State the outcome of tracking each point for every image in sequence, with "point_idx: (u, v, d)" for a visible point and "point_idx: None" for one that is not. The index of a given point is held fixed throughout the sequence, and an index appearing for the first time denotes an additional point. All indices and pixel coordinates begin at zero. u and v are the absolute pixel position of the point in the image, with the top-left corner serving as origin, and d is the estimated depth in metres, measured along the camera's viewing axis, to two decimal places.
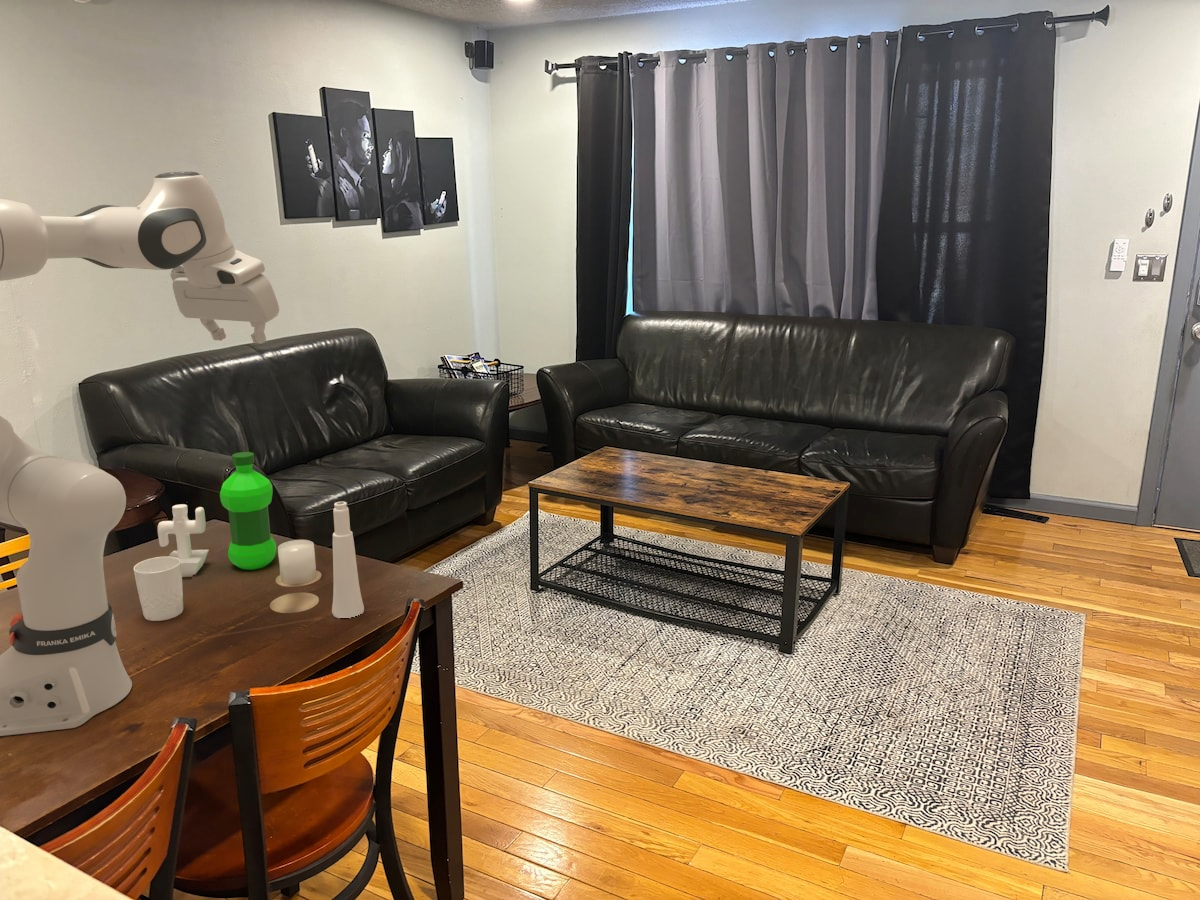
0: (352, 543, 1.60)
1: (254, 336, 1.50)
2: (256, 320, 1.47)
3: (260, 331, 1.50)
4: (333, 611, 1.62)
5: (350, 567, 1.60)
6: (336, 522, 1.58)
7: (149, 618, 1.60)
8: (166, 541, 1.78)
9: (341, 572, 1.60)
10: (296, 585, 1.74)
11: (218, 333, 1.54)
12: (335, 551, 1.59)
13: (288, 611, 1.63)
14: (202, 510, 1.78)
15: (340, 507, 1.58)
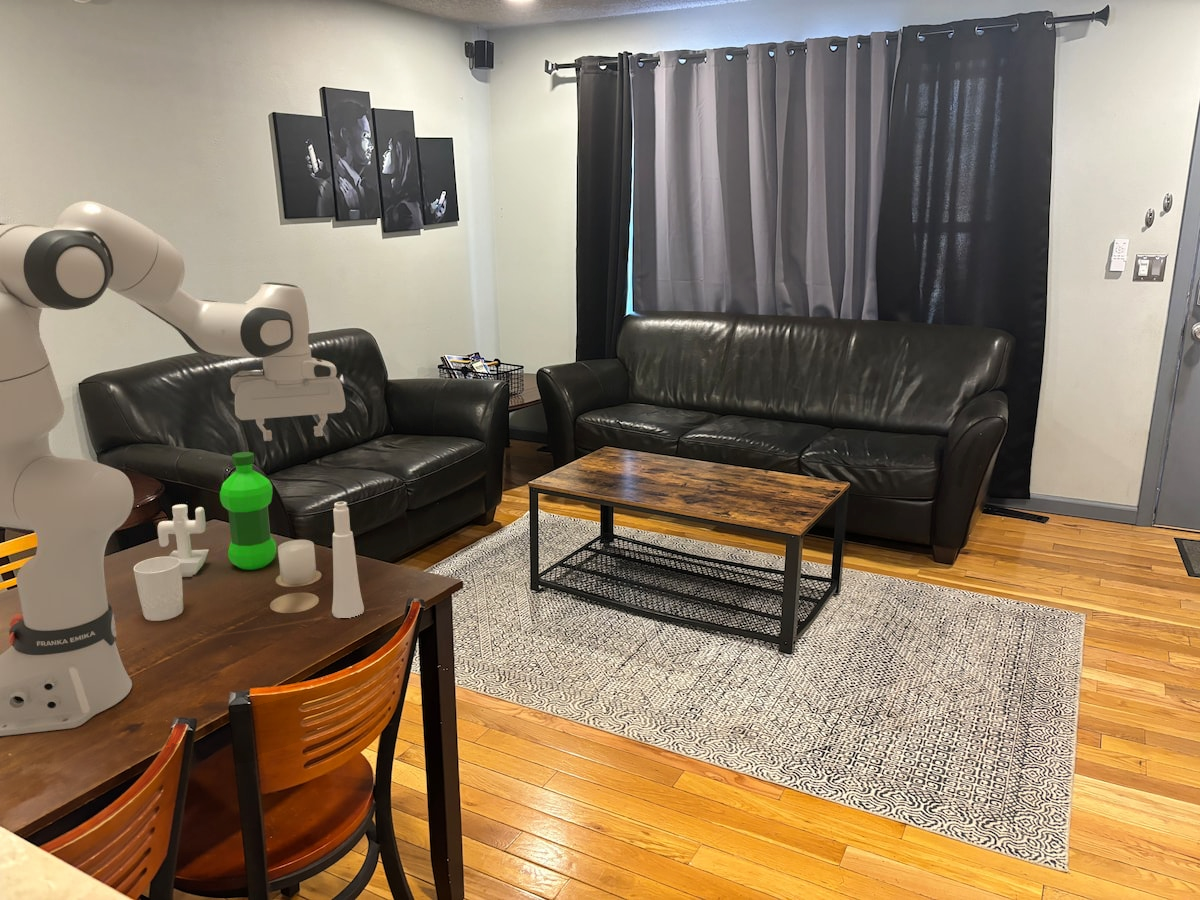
0: (352, 543, 1.60)
1: (319, 429, 1.69)
2: (333, 411, 1.69)
3: None
4: (333, 611, 1.62)
5: (350, 567, 1.60)
6: (336, 522, 1.58)
7: (149, 618, 1.60)
8: (166, 541, 1.78)
9: (341, 572, 1.60)
10: (296, 585, 1.74)
11: (271, 433, 1.66)
12: (335, 551, 1.59)
13: (288, 611, 1.63)
14: (202, 510, 1.78)
15: (340, 507, 1.58)
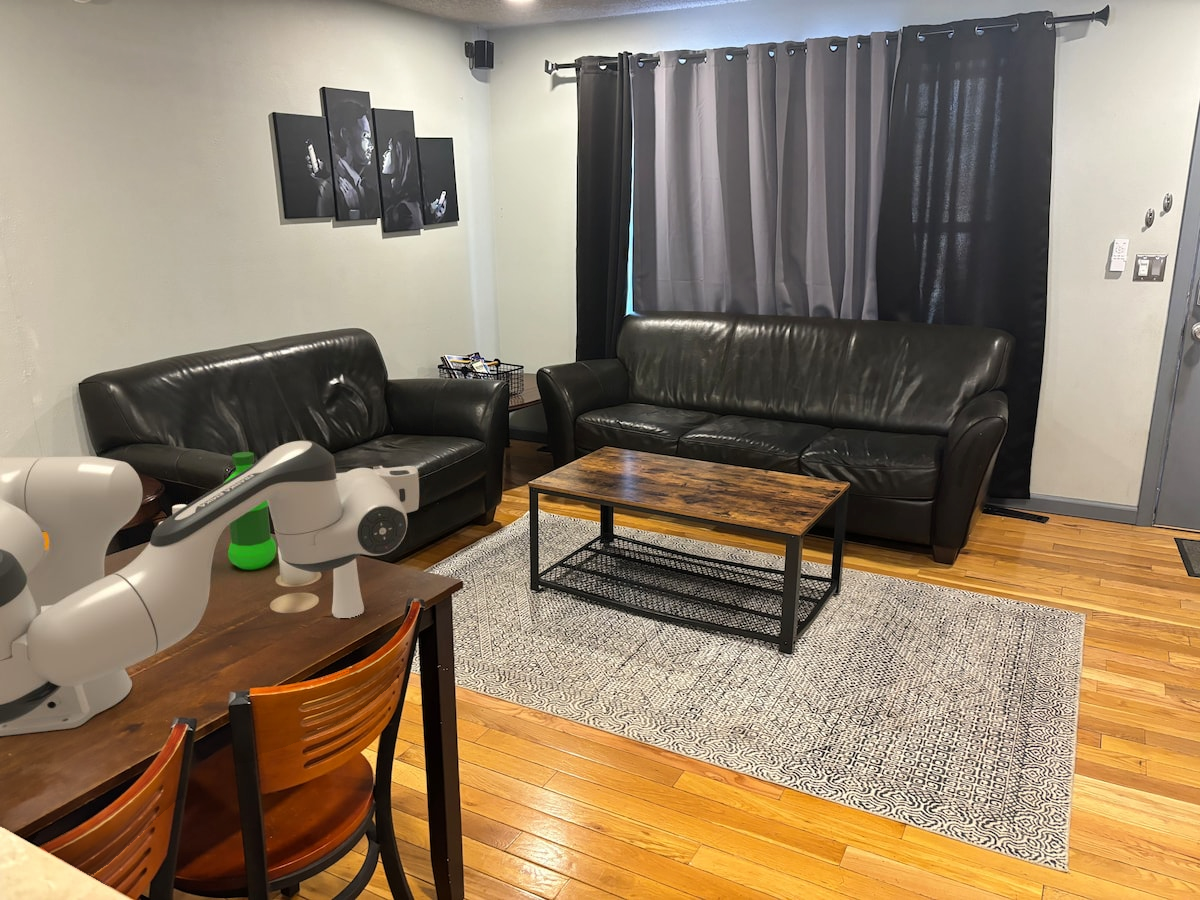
0: None
1: None
2: None
3: None
4: (333, 611, 1.62)
5: (350, 567, 1.60)
6: None
7: None
8: None
9: (341, 572, 1.60)
10: (296, 585, 1.74)
11: None
12: None
13: (288, 611, 1.63)
14: None
15: None
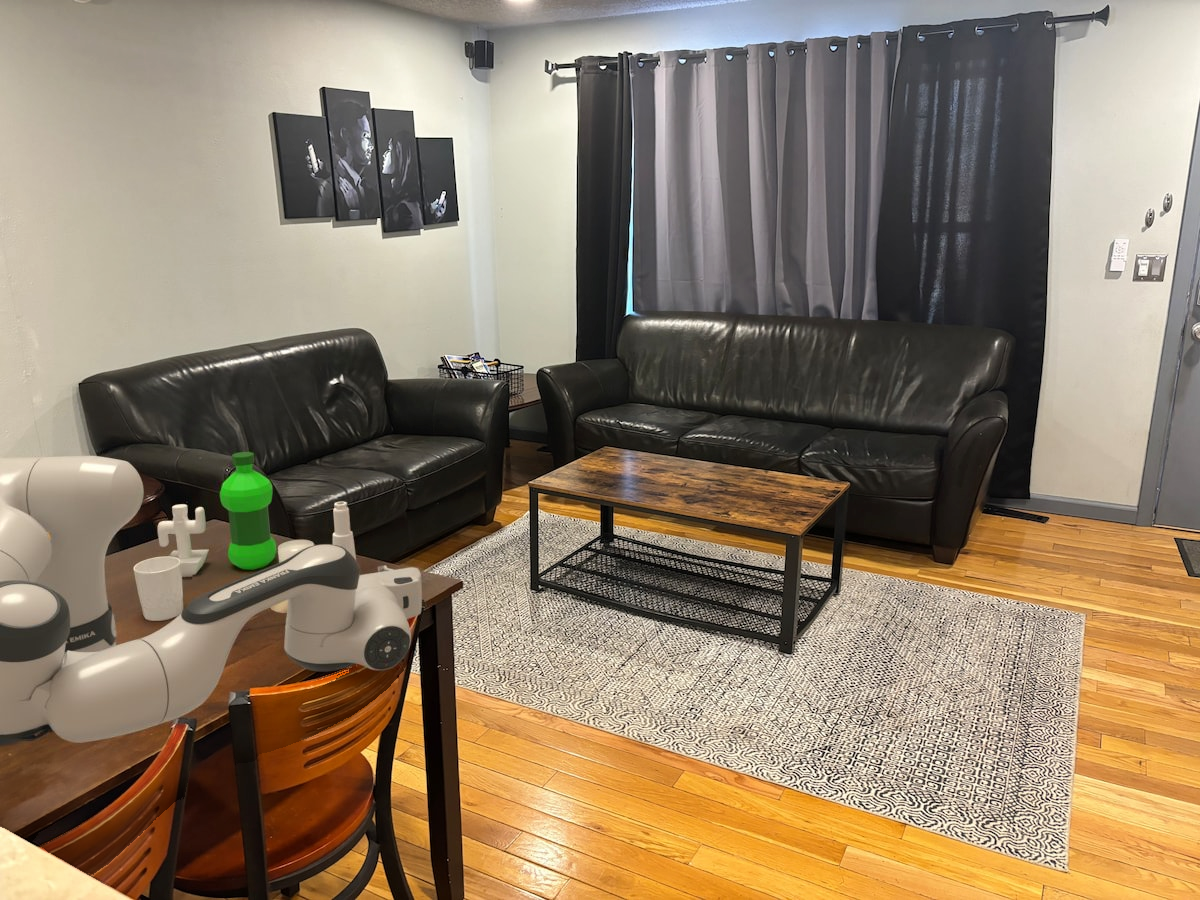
0: (352, 543, 1.60)
1: None
2: None
3: None
4: None
5: None
6: (336, 522, 1.58)
7: (149, 618, 1.60)
8: (166, 541, 1.78)
9: None
10: None
11: None
12: None
13: None
14: (202, 510, 1.78)
15: (340, 507, 1.58)
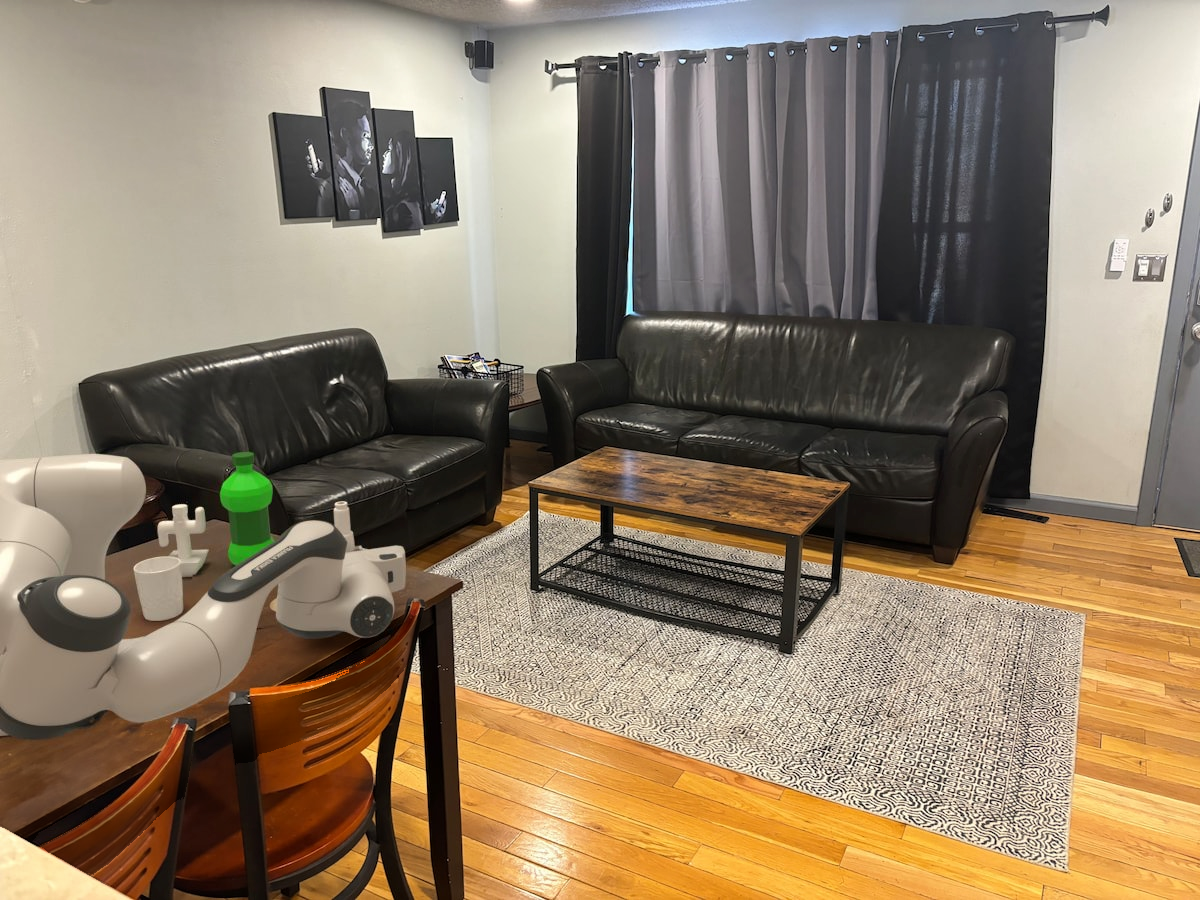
0: (352, 543, 1.60)
1: None
2: None
3: None
4: None
5: None
6: (336, 522, 1.58)
7: (149, 618, 1.60)
8: (166, 541, 1.78)
9: None
10: None
11: None
12: None
13: None
14: (202, 510, 1.78)
15: (340, 507, 1.58)
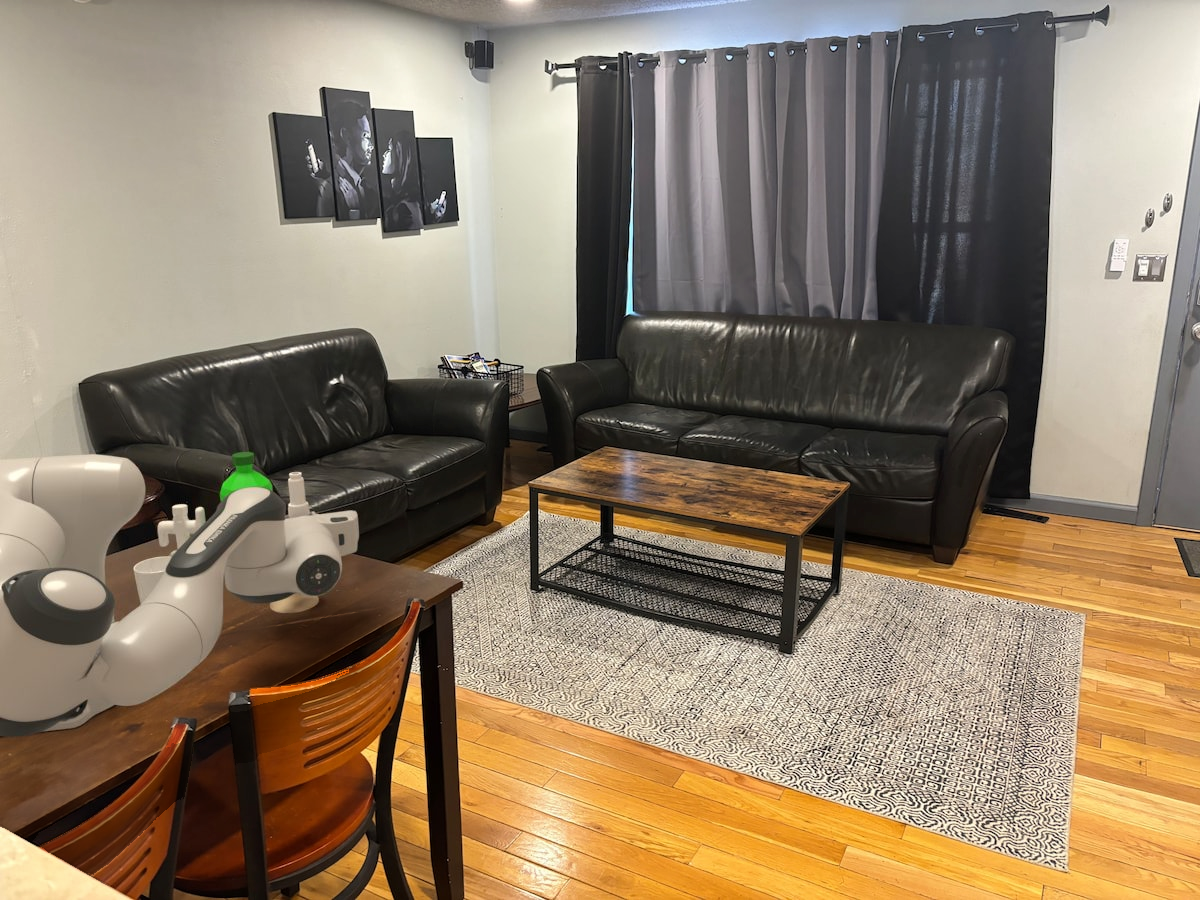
0: (308, 513, 1.61)
1: None
2: None
3: None
4: None
5: None
6: (291, 492, 1.60)
7: None
8: (166, 541, 1.78)
9: None
10: None
11: None
12: None
13: (288, 611, 1.63)
14: (202, 510, 1.78)
15: (294, 477, 1.59)
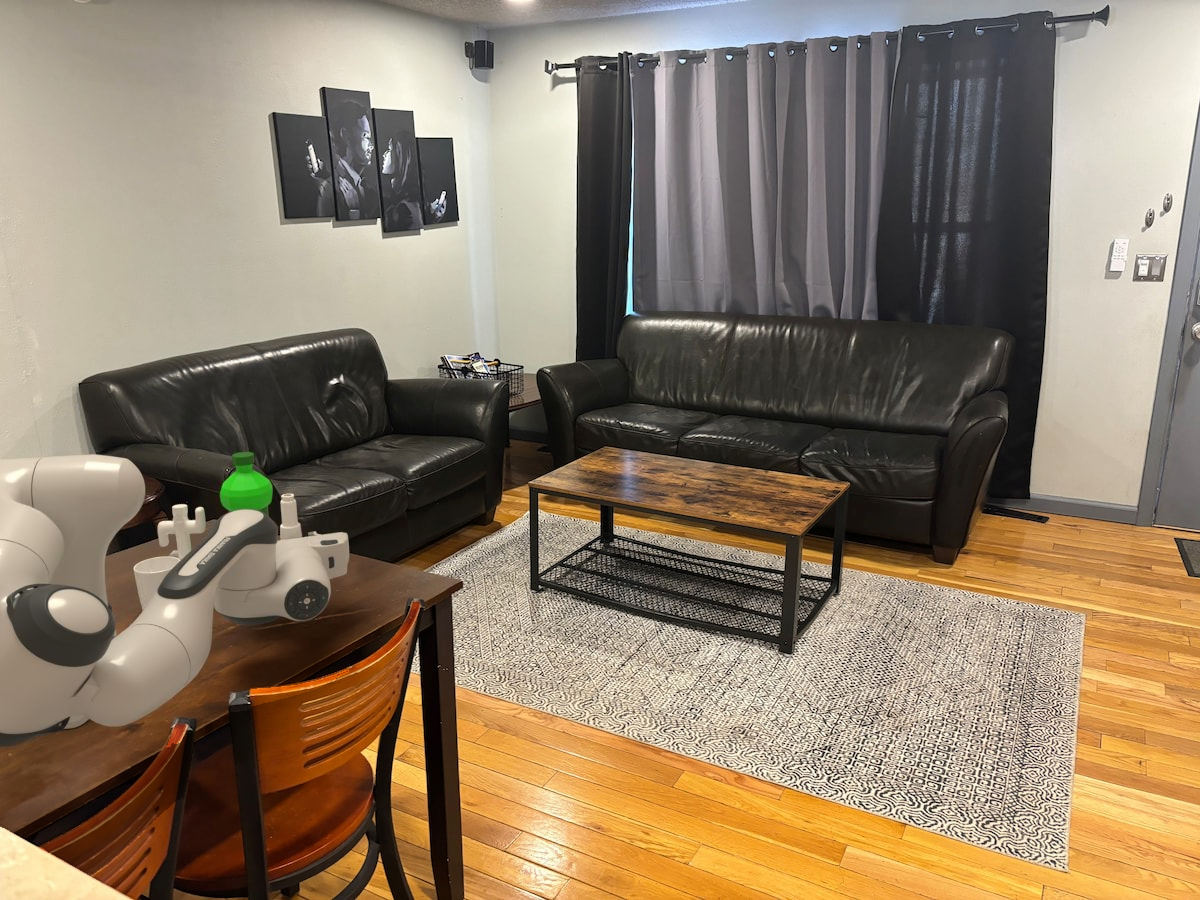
0: (300, 535, 1.62)
1: None
2: None
3: None
4: None
5: None
6: (283, 514, 1.60)
7: None
8: (166, 541, 1.78)
9: None
10: None
11: None
12: None
13: None
14: (202, 510, 1.78)
15: (287, 499, 1.60)
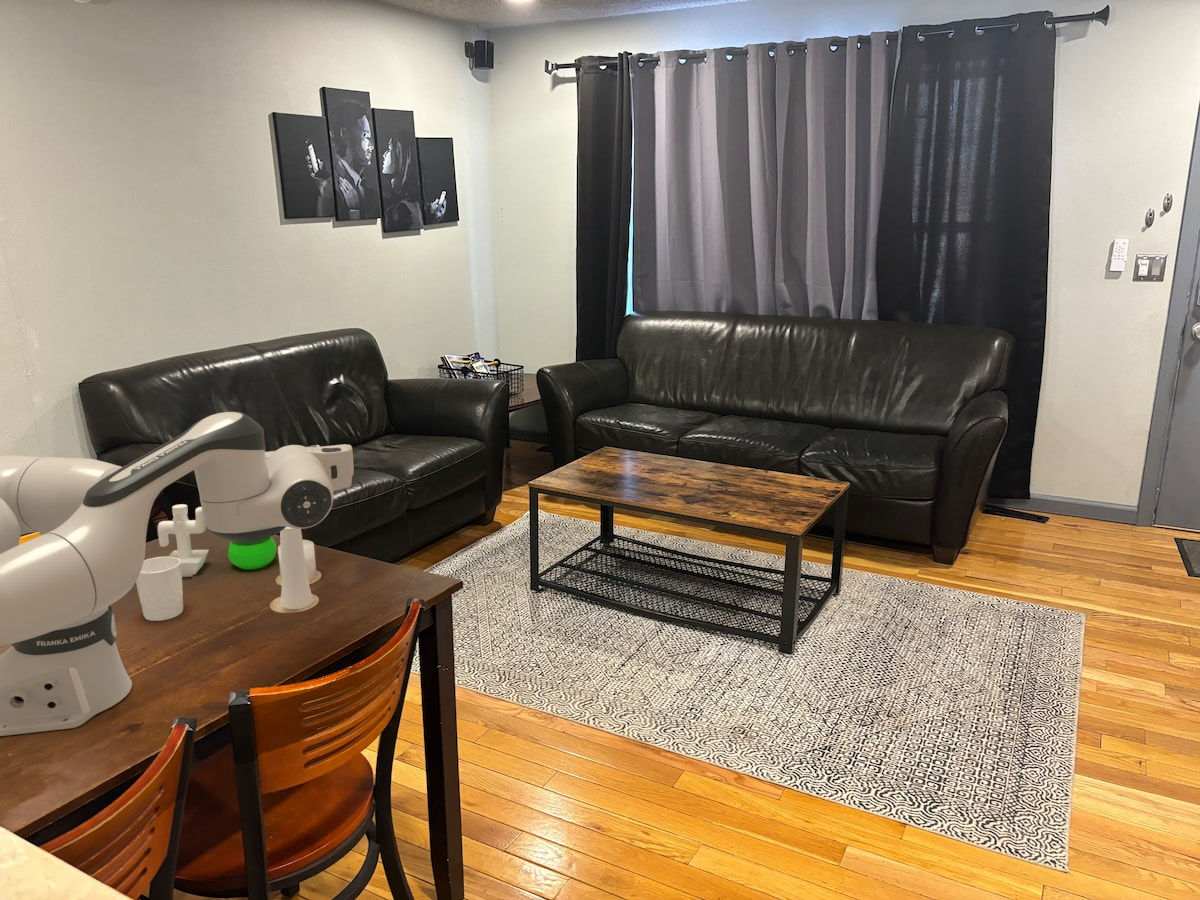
0: (299, 535, 1.62)
1: None
2: None
3: None
4: (281, 602, 1.64)
5: (297, 559, 1.62)
6: None
7: (149, 618, 1.60)
8: (166, 541, 1.78)
9: (289, 563, 1.62)
10: None
11: None
12: (282, 543, 1.61)
13: (288, 611, 1.63)
14: None
15: None
